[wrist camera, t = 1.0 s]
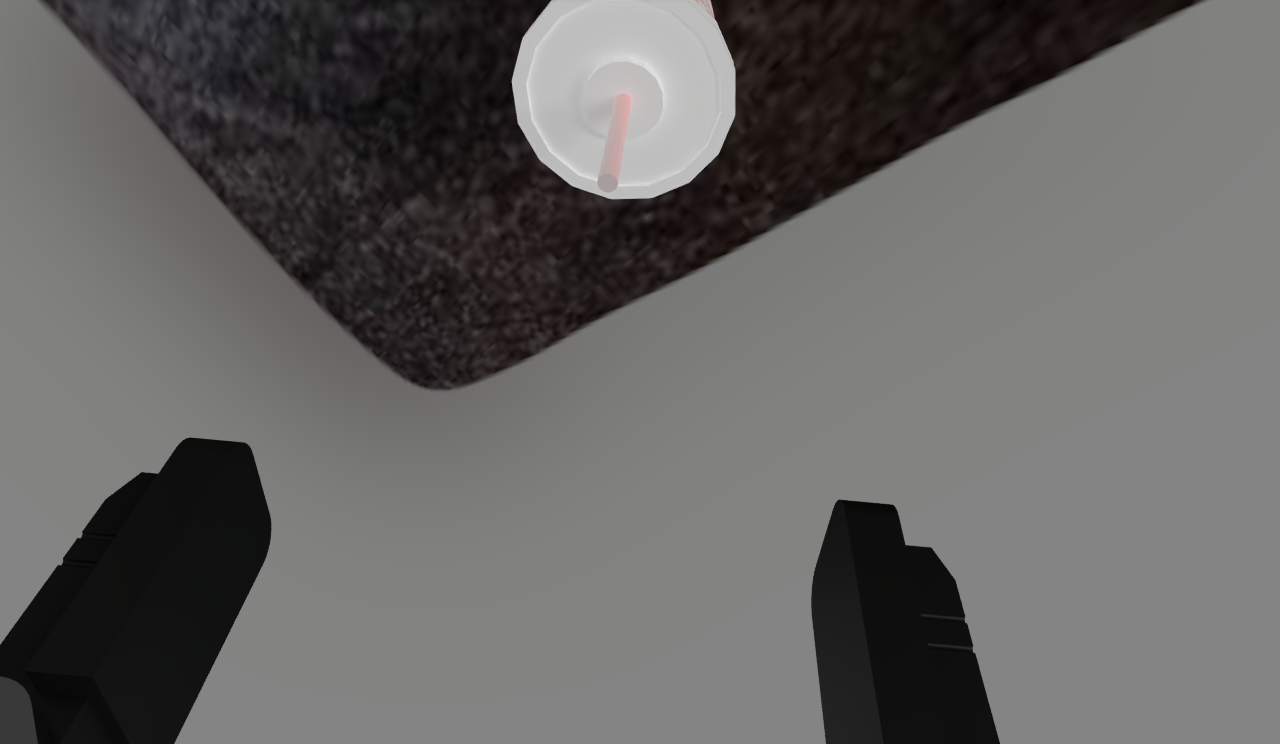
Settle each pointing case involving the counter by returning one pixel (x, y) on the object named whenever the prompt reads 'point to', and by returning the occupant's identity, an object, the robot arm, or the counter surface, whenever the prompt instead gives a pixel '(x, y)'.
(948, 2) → the counter surface
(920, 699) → the robot arm
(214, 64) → the counter surface
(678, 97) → the beverage cup
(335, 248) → the counter surface
